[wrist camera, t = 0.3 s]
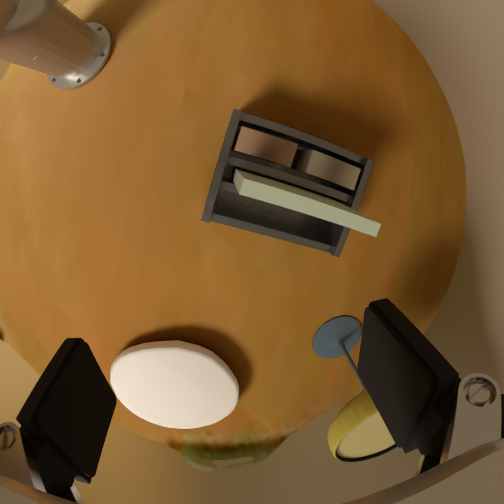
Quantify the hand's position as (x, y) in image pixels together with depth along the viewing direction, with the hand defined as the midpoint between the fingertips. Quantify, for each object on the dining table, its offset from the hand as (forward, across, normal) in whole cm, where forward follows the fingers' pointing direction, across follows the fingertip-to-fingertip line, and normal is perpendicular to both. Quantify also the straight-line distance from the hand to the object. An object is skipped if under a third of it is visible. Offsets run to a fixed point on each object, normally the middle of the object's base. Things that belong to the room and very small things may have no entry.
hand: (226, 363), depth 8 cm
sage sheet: (+35, -8, -1) cm, 36 cm away
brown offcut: (+35, -14, -3) cm, 38 cm away
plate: (+37, +17, +36) cm, 54 cm away
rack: (+36, -8, -1) cm, 37 cm away
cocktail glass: (+37, -18, +31) cm, 51 cm away
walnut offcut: (+35, -6, -7) cm, 36 cm away
